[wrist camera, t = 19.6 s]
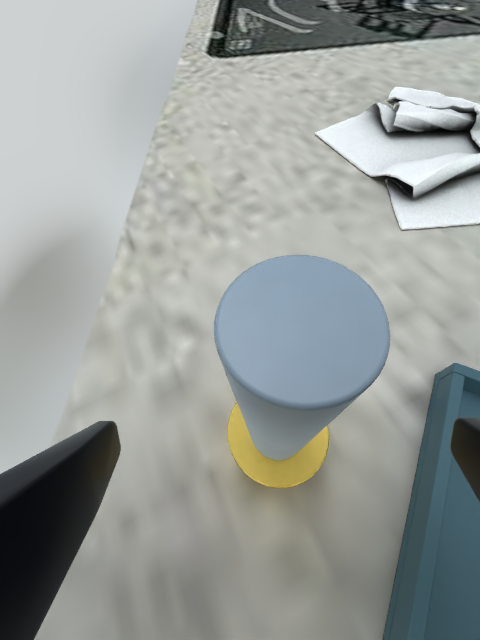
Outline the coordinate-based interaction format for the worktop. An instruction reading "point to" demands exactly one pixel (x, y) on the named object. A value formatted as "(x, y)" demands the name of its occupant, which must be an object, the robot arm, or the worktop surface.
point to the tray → (440, 528)
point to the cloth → (418, 155)
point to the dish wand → (295, 360)
